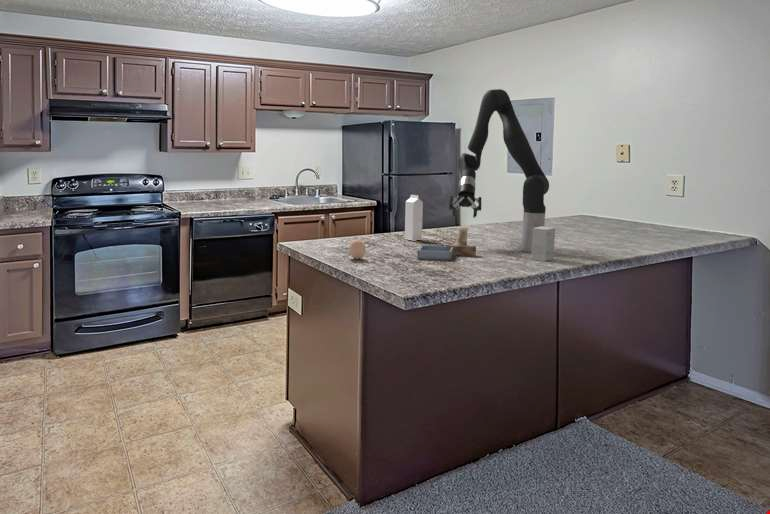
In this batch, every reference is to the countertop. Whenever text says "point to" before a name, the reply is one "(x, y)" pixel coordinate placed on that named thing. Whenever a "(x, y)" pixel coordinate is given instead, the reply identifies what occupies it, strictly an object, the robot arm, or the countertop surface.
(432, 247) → the tray
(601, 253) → the countertop surface
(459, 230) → the dowel
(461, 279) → the countertop surface
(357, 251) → the egg
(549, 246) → the small box
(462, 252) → the block
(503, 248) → the countertop surface
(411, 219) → the milk
